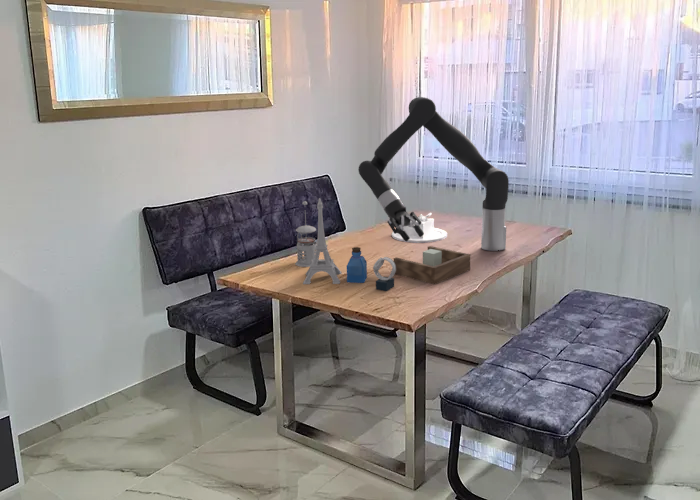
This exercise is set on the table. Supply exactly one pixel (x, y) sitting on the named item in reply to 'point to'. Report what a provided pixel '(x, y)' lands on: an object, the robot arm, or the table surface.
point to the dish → (428, 229)
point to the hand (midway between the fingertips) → (415, 237)
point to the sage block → (432, 257)
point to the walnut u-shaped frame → (434, 267)
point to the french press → (305, 245)
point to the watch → (384, 282)
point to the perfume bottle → (356, 267)
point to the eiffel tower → (327, 262)
